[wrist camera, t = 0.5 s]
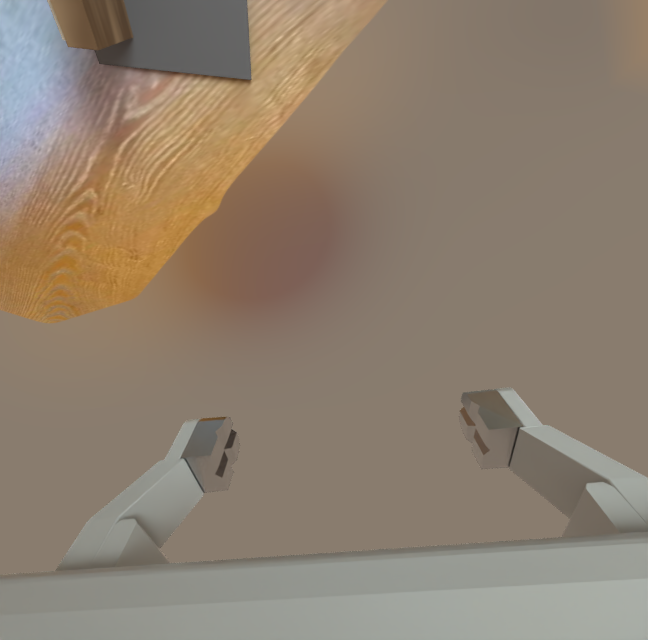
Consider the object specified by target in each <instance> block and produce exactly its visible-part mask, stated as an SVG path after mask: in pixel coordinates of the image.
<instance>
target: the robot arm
mask: <svg viewBox="0 0 648 640" xmlns="http://www.w3.org/2000/svg"><path fill="white" fill-rule="evenodd" d="M461 402H462V404H463V406H464V407H463V408H462V409H461V410H460V416H459V419H460V425H461V429H462V431H463V434H464V436H465V438H466V439H467V440H468V441H470V442H471V443H473V447H472V452H473V454H474V456H475V458H476V460H477V462H478V464H479V466H480V468H481V469H490V468H508V467H509V469H510V470H511V471H513V473H515V474H516V475H517V476H518V477H520V478H521V479H522V480H523V481H524V482H526V483H527V484H528V485H529V486H530V487H532V488H533V489H534V490H535V491H537V492H538V493H539V494H540V495H541V496H543V497H544V498H545V499H546V500H548V501H549V502H550V503H551V504H552V505H554V506H555V507H556V508H557V509H558V510H560V511H561V512H562V513H563V514H565V515H566V516H567V517H568V518H569V519H570V520H569V522H568V525H567V526H566V529H565V531H564V533H563V535H562V537H558V538H543V539H529V540H514V541H499V542H484V543H469V544H453V545H438V546H425V547H424V546H423V547H408V548H394V549H378V550H362V551H348V552H335V553H334V552H333V553H318V554H303V555H289V556H274V557H258V558H243V559H229V560H214V561H199V562H185V563H169V560H168V558H167V557H166V556H165V555H164V554H163V552H162V551H161V550H160V548H161V547H162V546H163V544H164V543H165V542H166V541H167V539H168V538H169V537H170V536H171V534H172V533H173V532H174V531H175V529H176V528H177V527H178V526H179V524H180V523H181V522H182V521H183V520H184V518H185V517H186V516H187V515H188V513H189V512H190V511H191V510H192V509H193V507H194V506H195V505H196V504H197V502H198V501H199V500H200V499H201V497H202V496H203V495H204V493H207V492H215V491H224V490H228V489H229V486H230V482H231V479H232V475H233V469H232V467H231V465H232V464H233V463H234V462H235V461H236V460H237V458H238V454H239V445H240V443H239V437H238V435H237V432H235V431H234V430H232V426H233V422H232V420H231V418H230V417H217V418H203V419H193V420H187V421H186V422H185V423H184V424H183V426H182V428H181V429H180V432H179V433H178V435H177V437H176V439H175V441H174V443H173V444H172V446H171V448H170V450H169V452H168V454H167V456H166V458H165V460H163V461H159V462H158V463H157V464H155V465H154V466H153V467H152V468H151V469H149V471H147V472H146V473H145V474H143V475H142V476H141V477H140V478H139V479H138V480H136V481H135V482H134V483H133V484H132V485H130V486H129V487H128V488H127V489H125V490H124V491H123V492H122V493H121V494H119V496H117V497H116V498H115V499H113V500H112V501H111V502H110V503H109V504H107V505H106V506H105V507H104V508H103V509H101V510H100V511H99V512H98V513H97V514H95V515H94V516H93V517H92V518H91V519H89V520H88V521H87V523H86V524H85V526H84V528H83V529H82V531H81V532H80V534H79V535H78V537H77V538H76V540H75V541H74V543H73V544H72V546H71V547H70V549H69V551H68V552H67V554H66V555H65V557H64V558H63V560H62V561H61V563H60V564H59V566H58V568H57V569H56V570H55V571H50V572H33V573H19V574H4V575H0V640H648V478H647V477H645V476H643V475H641V474H639V473H637V472H635V471H634V470H632V469H630V468H628V467H626V466H624V465H622V464H620V463H619V462H617V461H615V460H613V459H611V458H609V457H607V456H605V455H604V454H602V453H600V452H598V451H596V450H594V449H592V448H590V447H588V446H586V445H584V444H583V443H581V442H579V441H577V440H575V439H573V438H571V437H569V436H567V435H566V434H564V433H562V432H560V431H558V430H556V429H554V428H553V427H551V426H549V425H542V424H541V422H540V421H539V420H538V419H537V418H536V416H535V415H534V414H533V413H532V411H531V410H530V409H529V408H528V407H527V406H526V404H525V403H524V402H523V401H522V399H521V398H520V397H519V396H518V395H517V393H516V392H515V391H514V390H513V389H512V388H501V389H494V390H482V391H474V392H465V393H463V394H462V397H461Z"/></svg>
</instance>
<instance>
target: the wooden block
mask: <svg viewBox="0 0 648 640" xmlns="http://www.w3.org/2000/svg"><path fill="white" fill-rule="evenodd" d="M47 1H48V3H49V6H50V8H51V11H52V14H53V16H54V19H55V21H56V24H57V26H58V29H59V31H60V34H61V36H62V39H63V40H66V43H67V45H68V47H74V48H83V49H92V50H101V49H103V48H106V47H109V46H111V45H114V44H117V43H119V42H122V41H125V40H127V39H130V38H133V33H132V30H131V26H130V22H129V18H128V15H127V11H126V7H125V3H124V0H47Z"/></svg>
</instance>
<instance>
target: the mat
mask: <svg viewBox="0 0 648 640" xmlns="http://www.w3.org/2000/svg"><path fill="white" fill-rule="evenodd" d="M124 3H125V7H126V11H127V15H128V18H129V22H130V26H131V30H132V33H133V38H130V39H127V40H125V41H122V42H119V43H117V44H114V45H111V46H109V47H106V48H103V49H101V50H95V52H96V55H97V58H98V61H99V64H106V65H116V66H125V67H135V68H144V69H154V70H163V71H172V72H182V73H191V74H201V75H210V76H219V77H229V78H238V79H248V80H251V64H250V46H249V29H248V12H247V0H124Z"/></svg>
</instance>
